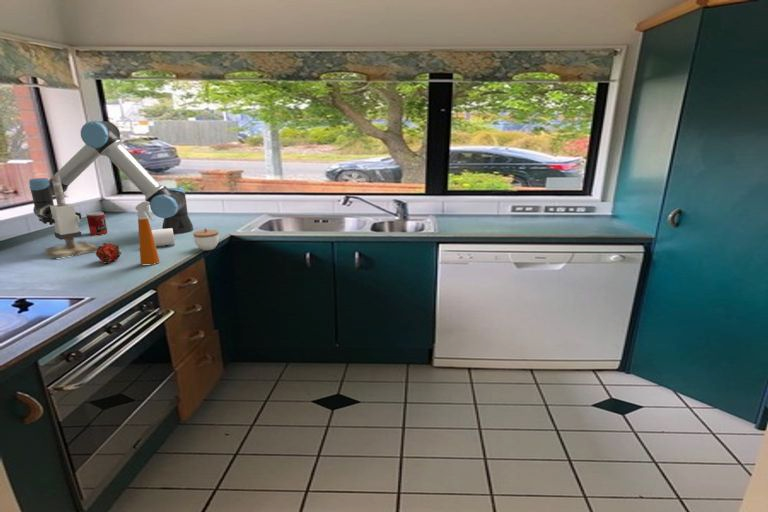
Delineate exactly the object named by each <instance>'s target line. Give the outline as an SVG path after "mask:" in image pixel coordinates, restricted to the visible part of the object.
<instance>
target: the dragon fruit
mask: <svg viewBox="0 0 768 512" xmlns="http://www.w3.org/2000/svg"><path fill="white" fill-rule="evenodd" d="M97 248H98V249H97V252H95V255H96V257H97V258H98V259H99V260H100V261H101V262H102V263H103V262H109V261H110V262H111V263H112V262H113V261H112V260H116V261H118V259H119V258H120V257H121V255H122V252H121V251H120V248H119V245H117V244H114V243H113V242H109V243H107V242H104V243H103V244H102V245H100V246H98V247H97ZM110 262H109V263H110Z"/></svg>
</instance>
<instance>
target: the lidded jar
mask: <svg viewBox="0 0 768 512" xmlns="http://www.w3.org/2000/svg"><path fill="white" fill-rule="evenodd" d="M193 238H194V243H195V245H196V246H197V247H198V248H199V249H200V250H201V249H202V250H201V251H211V250H214V249H216V247H217V245H218V243H219V238H220V237H219V230H217V229H207V228H204V229H201V230H198V231H197V230H196V231H194V233H193Z"/></svg>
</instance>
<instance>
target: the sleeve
mask: <svg viewBox="0 0 768 512" xmlns="http://www.w3.org/2000/svg"><path fill="white" fill-rule="evenodd" d="M50 209H51V213H52V217H55V218H57V219H59V224H60V225H56V224H54V223H53V226H54V231H55V232H56V233H58V234H60V235H64V234H70V233H76V232H79V231H80V229H79V224H78V223H79V222H77V219H76V214H75V212H76V209H75V205H73V204H71V203H66V206H61V207H58V205H57V204H56V205H55V204H54V206H50Z"/></svg>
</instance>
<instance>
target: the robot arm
mask: <svg viewBox="0 0 768 512" xmlns="http://www.w3.org/2000/svg"><path fill="white" fill-rule="evenodd" d="M80 129H81V130H80V138H81V140H82V142H83V143H84V145H83V146H82V147H81V149H79V150H78V151H77V152H76V153H75V154H74V155H73V156H72V157H71V158H70V159H69V160H68V161H67V162H66V163H65V164H64V165H63V166H62V167H61V168H60V169H59V170H58V171H57V172H56V173H55V174H54V175H53V176H60V179H61V184H62V189H63V193H65V192H67V191H68V188H69V186H70V185H71V184H72V183H73V182H74V181H75V180H77V178H78V177H79V176H81V174H82V173H83V172H84V171H86V170H87V169H88V168H89V166H91V164H92V163H94V162H95V161H96V160H97V159H98V158H99V157H100V156H104V157H107V158H108V159H109V160H110V161H111V162H112V163H113V164H114V165H115V166H116V167H117V168H118V170H120V171H121V172H122V174H123V175H124V176H125V177H126V178H128V180H129V181H130V182H131V183H132V184H133V185H134V186H135V187H136V188H137V189H138V190H139V191H140V192H141V193H142V194H143V196H144V199H145V201H148V202H149V203H150V204H149V209H150V210H151V211H150V212H151V213H152V214H153V215H154V216H156V217H158V218H161V219H163V220H162V227H161V229H169V228H172V229H173V235H174V234H184V233H189V232H191V231H193V230H194V224H192V221H191V219H190V216H189V214H188V207H187V206H188V205H187V198H186V191H185V189H184V187H167V186H165V185H162V184H159V183H158V181H157V180H156V179H155V178H154V177H153V176H152V175H151V174H150V173H149V172H148V171H147V170H146V169H145V168H144V166H142V164H141V163H140V162H139V161H138V160H137V159H136V158H135V157H134V156H133V155H132V154H131V153H130V152H129V151H128V150H127V149H126V148H125V146H124V145H123V140H122V138H121V132H120V130H119V128H118V127H117V126H116V125H115V124H114V123H113V122H110V121H106V120H102V121H101V120H100V121H99V120H91V121H88V122H86V123H84V124H83V125H82V127H81V128H80ZM28 183H29V189H30V193H31V198H32V201H33V209H32V210H33V214H34V215H35V216H36V217H38V221H39V222H42V224H44V225H46V224H48V223H49V225H50V226H52V225H53V226H54V224H56V225H60V224H59V219H57V218H55V217H52V213H51V209H50V206H54V205H55V204H54V203H55V202H54V199H53V197H55V191H54V187H53V182H52V178H51V177H50V179H48V178H46V177H38V178H37V177H36V178H30V179H29V181H28ZM75 214H76V219H77V223H81V219H82V214H81V212H76V211H75Z"/></svg>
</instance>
